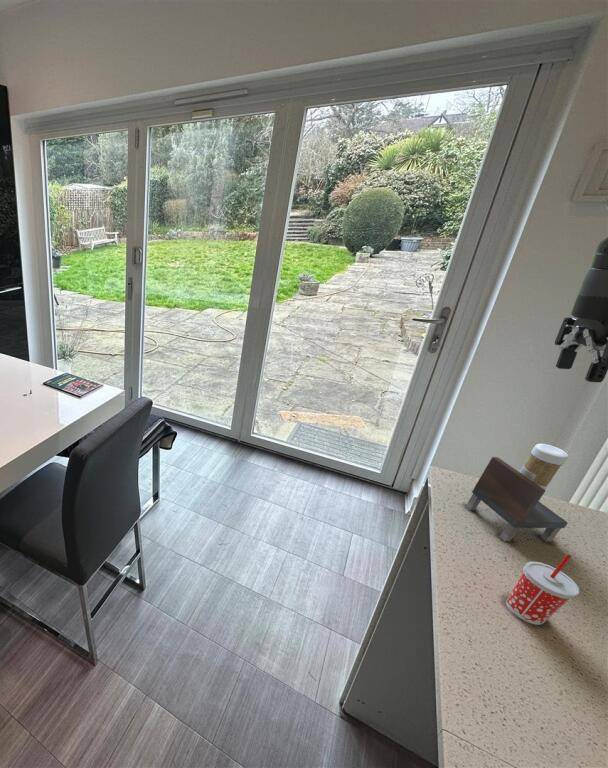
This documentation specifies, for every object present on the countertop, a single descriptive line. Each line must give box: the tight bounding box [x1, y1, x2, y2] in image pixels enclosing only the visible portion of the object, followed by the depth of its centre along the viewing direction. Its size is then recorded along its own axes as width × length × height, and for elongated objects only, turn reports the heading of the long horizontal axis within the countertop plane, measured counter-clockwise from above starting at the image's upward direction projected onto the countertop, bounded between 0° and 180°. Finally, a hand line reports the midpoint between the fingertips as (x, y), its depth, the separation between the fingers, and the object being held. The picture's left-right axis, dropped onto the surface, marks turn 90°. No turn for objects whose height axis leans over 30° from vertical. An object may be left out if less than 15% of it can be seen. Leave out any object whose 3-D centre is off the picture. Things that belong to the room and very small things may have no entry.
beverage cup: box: [505, 554, 580, 626], centre depth 65 cm, size 6×6×14 cm
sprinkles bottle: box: [519, 443, 569, 490], centre depth 80 cm, size 5×5×14 cm
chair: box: [465, 456, 569, 542], centre depth 83 cm, size 10×10×14 cm
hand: (577, 374), depth 82 cm, fingers open, 8 cm apart
